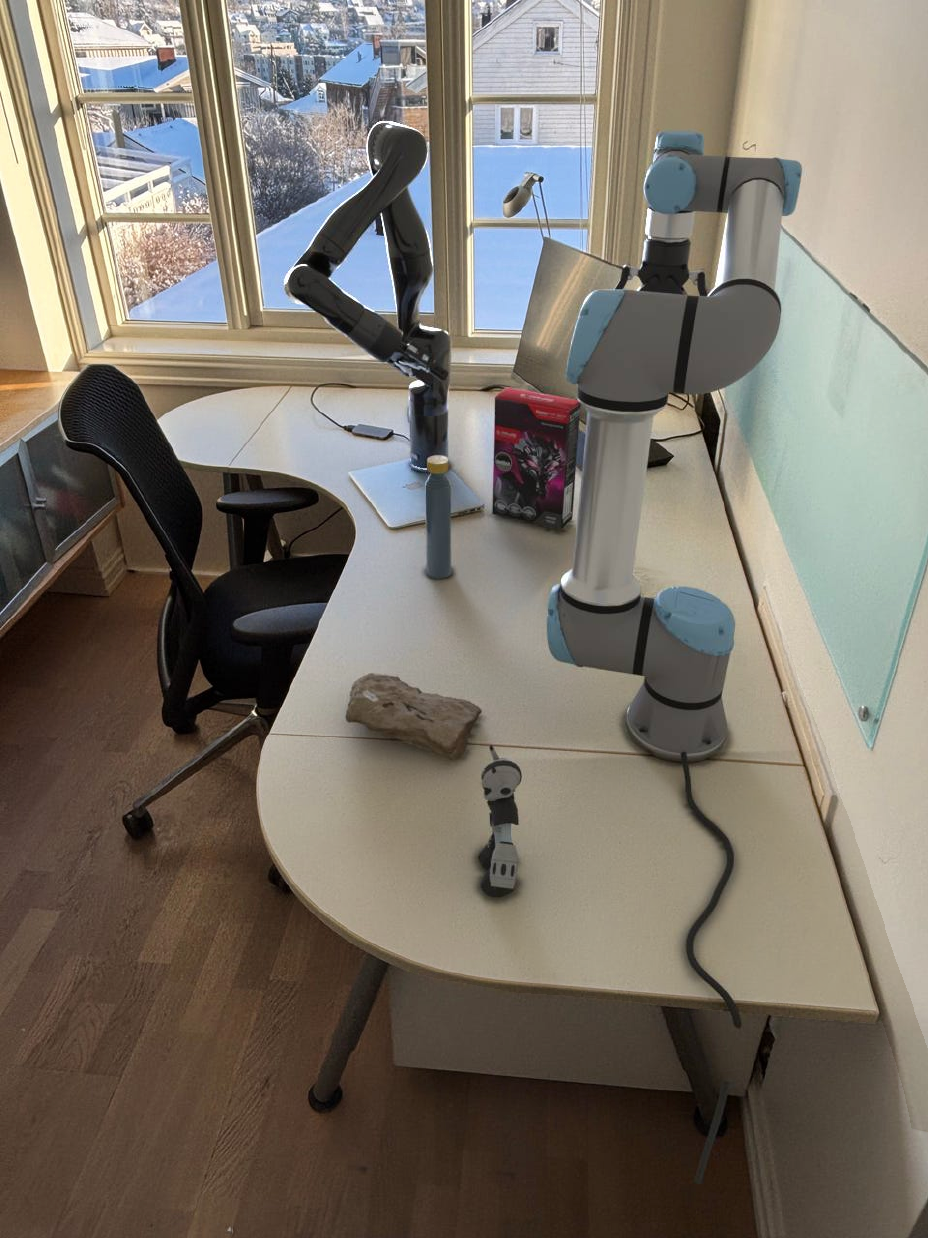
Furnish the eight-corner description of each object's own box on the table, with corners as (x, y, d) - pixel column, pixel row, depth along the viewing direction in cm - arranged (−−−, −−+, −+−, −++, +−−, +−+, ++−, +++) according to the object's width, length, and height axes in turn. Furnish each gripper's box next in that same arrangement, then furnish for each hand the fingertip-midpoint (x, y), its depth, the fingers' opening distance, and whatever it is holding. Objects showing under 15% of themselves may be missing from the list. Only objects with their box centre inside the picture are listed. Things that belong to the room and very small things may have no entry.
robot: (523, 934, 111) (531, 817, 100) (483, 936, 111) (487, 818, 100) (509, 815, 128) (514, 703, 117) (474, 816, 127) (476, 704, 116)
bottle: (434, 563, 185) (432, 454, 172) (455, 569, 183) (455, 459, 170) (422, 574, 181) (419, 463, 168) (443, 581, 179) (443, 469, 166)
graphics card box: (489, 515, 202) (492, 395, 187) (503, 502, 207) (507, 384, 192) (561, 533, 196) (570, 410, 180) (573, 519, 201) (583, 399, 186)
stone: (319, 730, 137) (326, 695, 135) (356, 690, 151) (363, 658, 148) (450, 779, 134) (460, 744, 131) (477, 733, 147) (486, 701, 145)
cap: (433, 463, 172) (433, 453, 171) (452, 467, 171) (452, 457, 170) (423, 470, 169) (423, 461, 168) (442, 475, 168) (442, 465, 167)
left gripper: (394, 311, 179) (460, 359, 186) (372, 324, 192) (435, 369, 199) (375, 344, 179) (442, 391, 185) (355, 355, 192) (418, 398, 198)
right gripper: (746, 237, 151) (725, 364, 163) (595, 227, 157) (585, 351, 169) (746, 247, 145) (723, 378, 157) (589, 236, 151) (579, 364, 163)
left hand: (438, 380), depth 192 cm, fingers open, 8 cm apart
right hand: (652, 364), depth 163 cm, fingers open, 13 cm apart
